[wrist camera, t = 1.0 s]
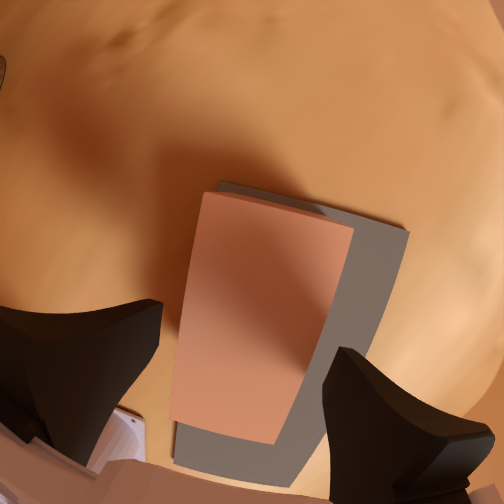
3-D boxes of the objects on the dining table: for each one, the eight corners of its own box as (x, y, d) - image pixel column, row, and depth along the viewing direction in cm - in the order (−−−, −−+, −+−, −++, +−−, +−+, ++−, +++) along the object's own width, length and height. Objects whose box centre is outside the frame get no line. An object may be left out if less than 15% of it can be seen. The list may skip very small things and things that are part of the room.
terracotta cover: (197, 359, 18) (169, 418, 12) (231, 192, 16) (204, 191, 10) (276, 379, 18) (273, 444, 12) (326, 215, 15) (353, 228, 10)
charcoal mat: (174, 460, 22) (173, 463, 21) (221, 181, 16) (219, 180, 16) (289, 483, 21) (289, 487, 21) (406, 230, 16) (409, 231, 15)
